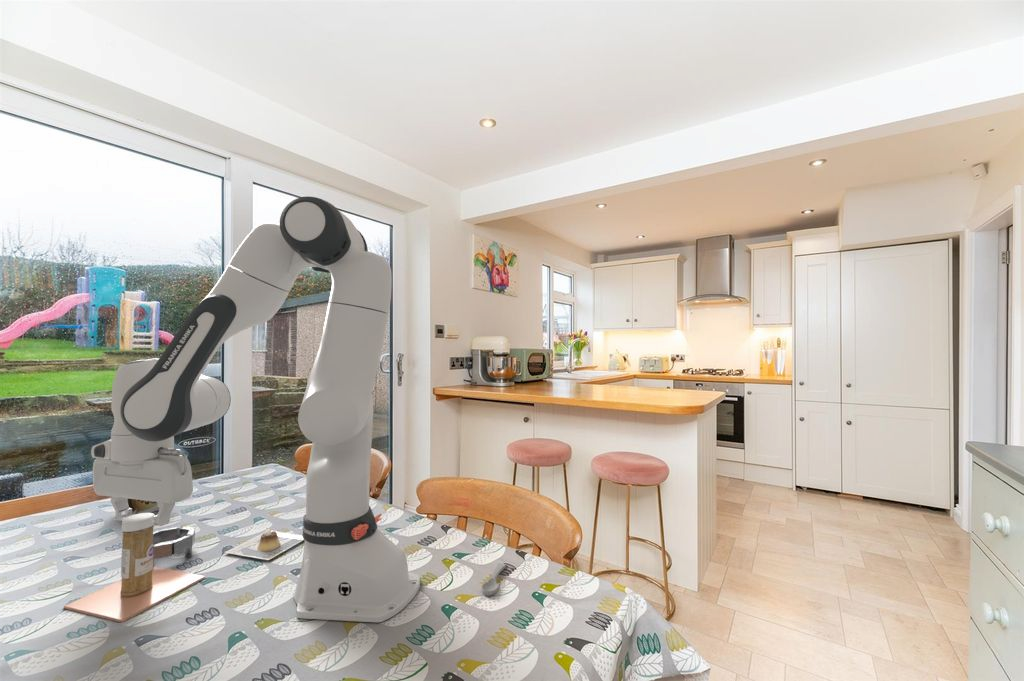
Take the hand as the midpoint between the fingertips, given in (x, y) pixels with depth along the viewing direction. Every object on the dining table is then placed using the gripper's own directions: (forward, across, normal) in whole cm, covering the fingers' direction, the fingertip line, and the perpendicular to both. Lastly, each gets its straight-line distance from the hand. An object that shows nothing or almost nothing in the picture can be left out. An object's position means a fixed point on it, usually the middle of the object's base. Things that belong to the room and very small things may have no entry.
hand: (142, 522), depth 78 cm
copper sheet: (+13, 0, 0) cm, 13 cm away
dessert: (+14, -8, -21) cm, 26 cm away
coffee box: (+13, +42, -29) cm, 53 cm away
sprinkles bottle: (+13, +1, 0) cm, 13 cm away
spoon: (+14, -61, -22) cm, 67 cm away
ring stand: (+13, +9, -11) cm, 19 cm away
